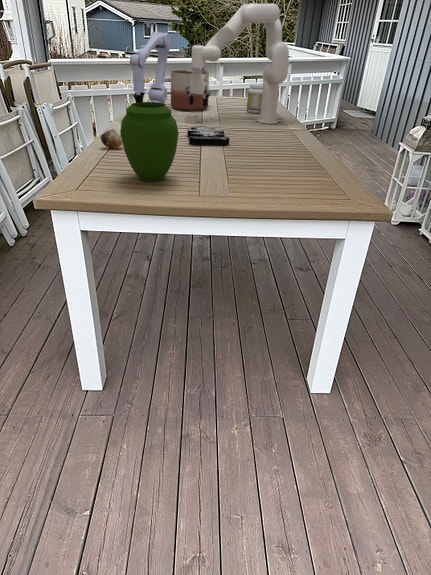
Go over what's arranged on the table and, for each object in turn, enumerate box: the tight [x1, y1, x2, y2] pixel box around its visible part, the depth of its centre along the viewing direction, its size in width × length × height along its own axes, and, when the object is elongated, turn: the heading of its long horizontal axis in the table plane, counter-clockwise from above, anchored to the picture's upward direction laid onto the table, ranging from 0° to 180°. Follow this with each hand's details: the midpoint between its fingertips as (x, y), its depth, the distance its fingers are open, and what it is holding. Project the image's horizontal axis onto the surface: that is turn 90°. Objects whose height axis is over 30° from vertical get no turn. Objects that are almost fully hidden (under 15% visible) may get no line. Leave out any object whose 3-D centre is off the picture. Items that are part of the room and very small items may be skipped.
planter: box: [170, 69, 210, 112], centre depth 273 cm, size 25×25×22 cm
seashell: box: [100, 128, 123, 149], centre depth 178 cm, size 10×6×8 cm, turn 91°
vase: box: [119, 101, 179, 182], centre depth 140 cm, size 20×20×24 cm
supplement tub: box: [246, 83, 263, 114], centre depth 274 cm, size 12×12×17 cm
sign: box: [187, 125, 230, 147], centre depth 203 cm, size 19×3×30 cm
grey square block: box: [185, 113, 199, 125], centre depth 238 cm, size 5×5×4 cm
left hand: (139, 107), depth 226 cm, fingers open, 7 cm apart
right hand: (198, 105), depth 233 cm, fingers open, 9 cm apart
